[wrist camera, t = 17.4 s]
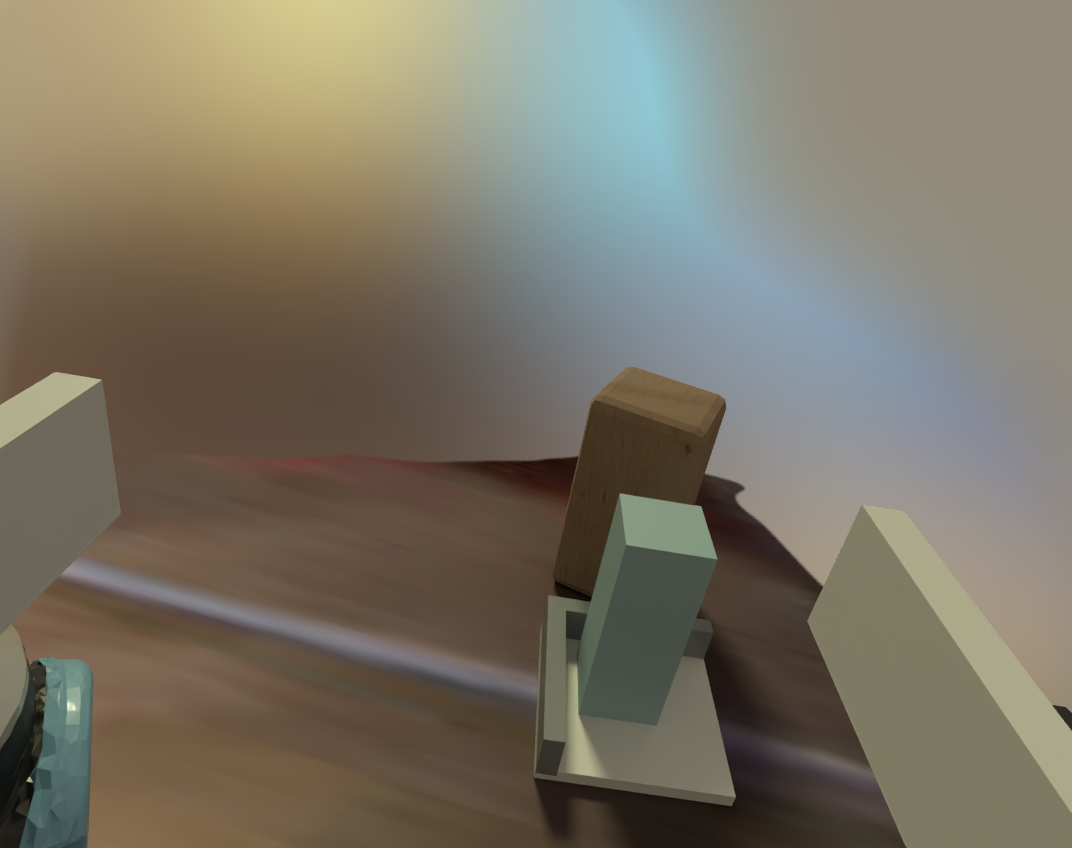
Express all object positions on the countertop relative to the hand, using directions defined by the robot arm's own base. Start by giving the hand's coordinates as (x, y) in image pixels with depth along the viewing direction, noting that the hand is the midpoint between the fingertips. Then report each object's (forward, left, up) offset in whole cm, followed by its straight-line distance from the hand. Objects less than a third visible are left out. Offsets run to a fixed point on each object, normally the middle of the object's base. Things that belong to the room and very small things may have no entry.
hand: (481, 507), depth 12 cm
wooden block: (+13, +44, -36) cm, 58 cm away
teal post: (+12, +29, -35) cm, 47 cm away
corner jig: (+13, +28, -36) cm, 47 cm away
